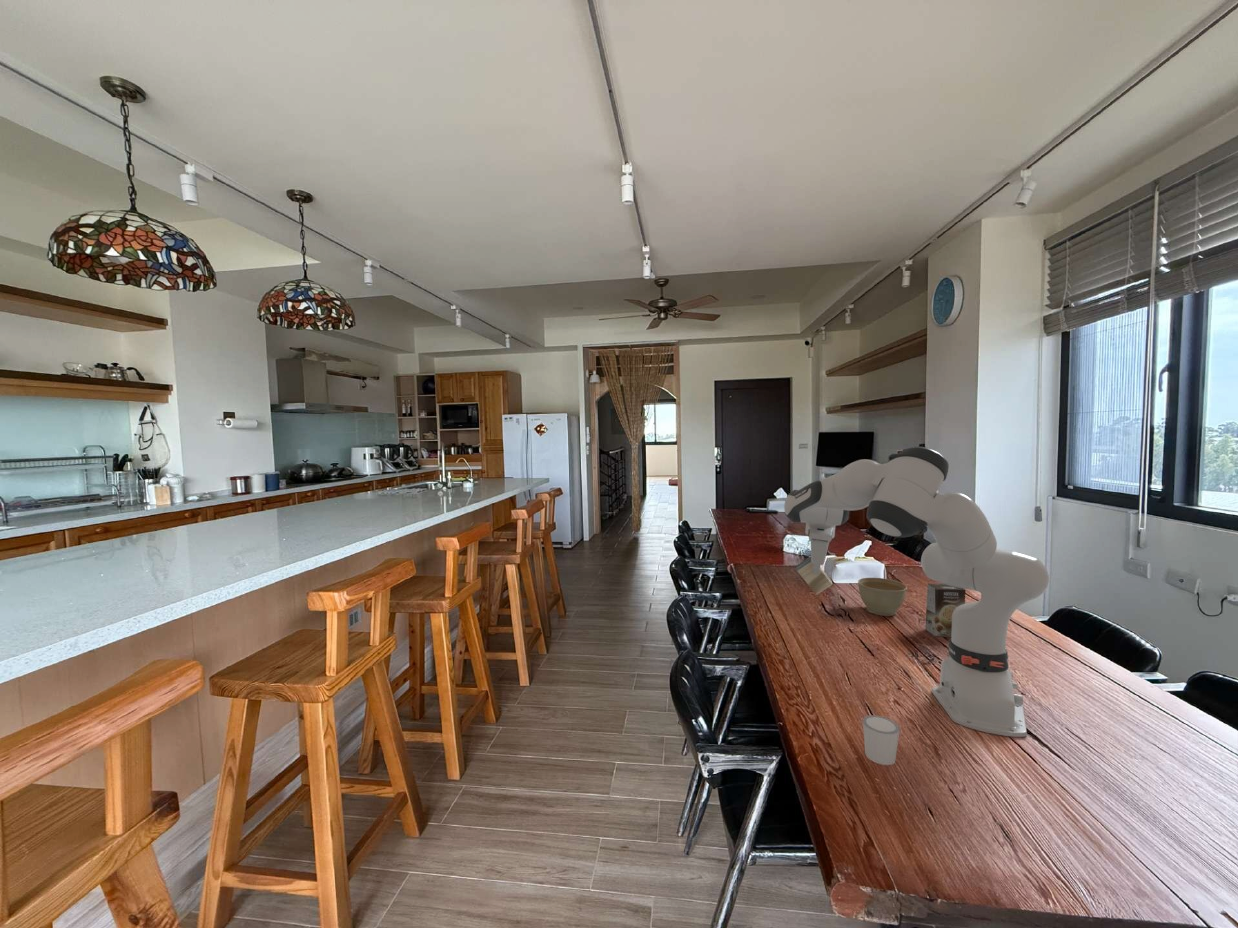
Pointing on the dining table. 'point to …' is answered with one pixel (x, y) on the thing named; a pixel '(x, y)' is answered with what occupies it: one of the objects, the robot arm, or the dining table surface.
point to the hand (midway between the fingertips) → (815, 572)
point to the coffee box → (942, 607)
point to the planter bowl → (882, 595)
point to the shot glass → (880, 739)
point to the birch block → (813, 576)
